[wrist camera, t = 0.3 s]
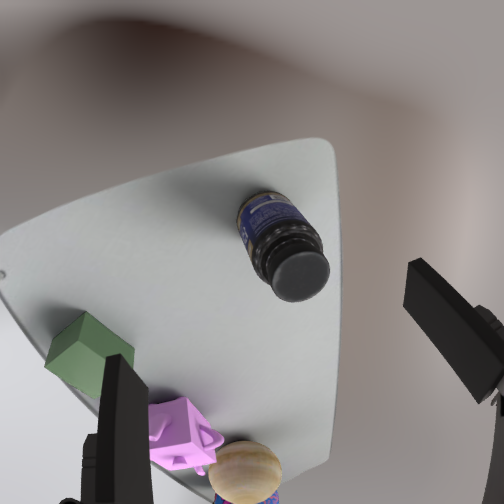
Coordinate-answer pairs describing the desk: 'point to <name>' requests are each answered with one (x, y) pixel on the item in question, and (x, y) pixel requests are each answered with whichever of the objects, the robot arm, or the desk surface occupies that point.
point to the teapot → (181, 436)
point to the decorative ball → (245, 472)
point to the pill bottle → (283, 246)
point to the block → (85, 354)
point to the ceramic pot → (273, 500)
